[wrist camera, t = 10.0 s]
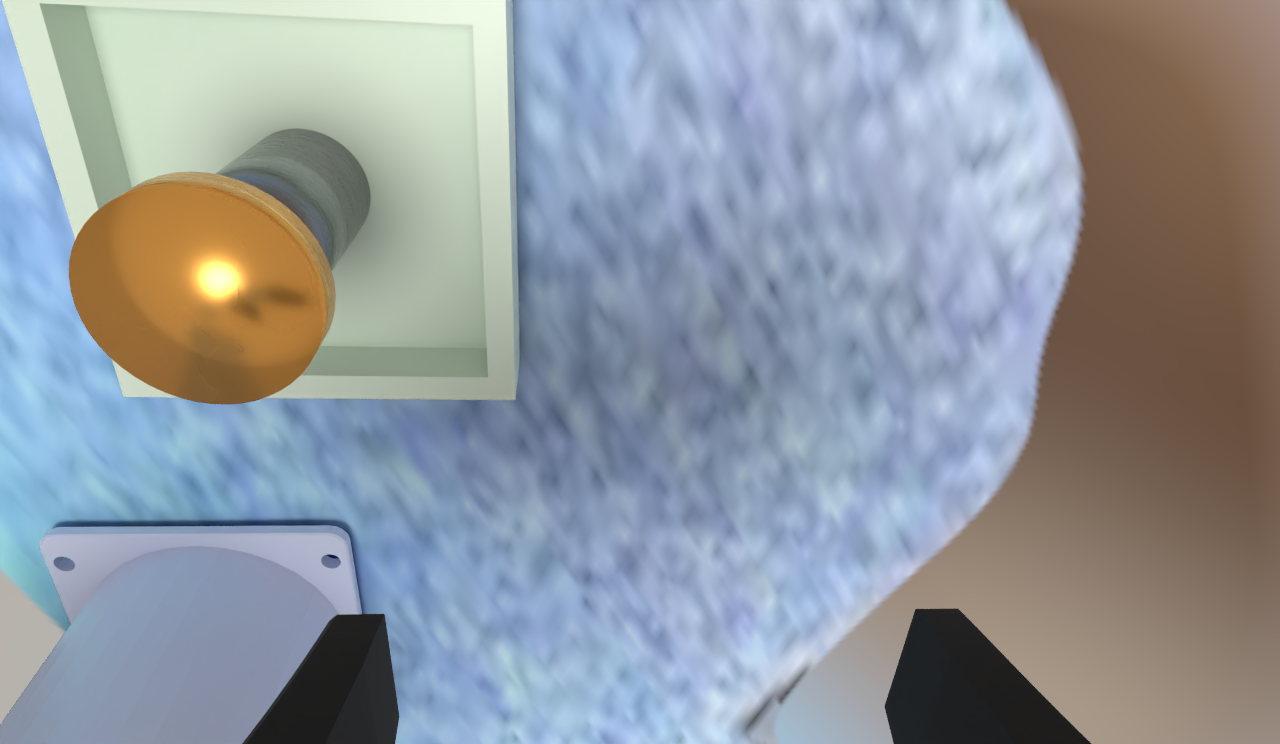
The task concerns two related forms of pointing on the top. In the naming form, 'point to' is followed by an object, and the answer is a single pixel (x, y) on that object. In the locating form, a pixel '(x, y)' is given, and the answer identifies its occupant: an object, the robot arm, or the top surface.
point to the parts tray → (337, 107)
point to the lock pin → (222, 268)
